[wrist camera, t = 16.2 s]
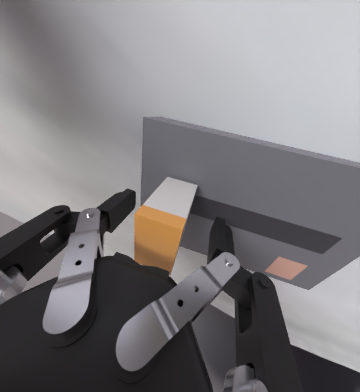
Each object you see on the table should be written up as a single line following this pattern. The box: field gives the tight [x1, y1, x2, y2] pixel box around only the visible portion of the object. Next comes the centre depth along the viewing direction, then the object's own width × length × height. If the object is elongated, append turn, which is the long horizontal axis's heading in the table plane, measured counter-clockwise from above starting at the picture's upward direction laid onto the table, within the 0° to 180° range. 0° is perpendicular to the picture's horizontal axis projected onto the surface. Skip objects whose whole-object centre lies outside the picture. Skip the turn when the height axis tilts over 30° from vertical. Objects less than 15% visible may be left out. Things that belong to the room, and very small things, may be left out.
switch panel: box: [141, 117, 360, 290], centre depth 15 cm, size 22×14×4 cm, turn 80°
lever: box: [134, 177, 198, 275], centre depth 12 cm, size 3×5×6 cm, turn 170°
